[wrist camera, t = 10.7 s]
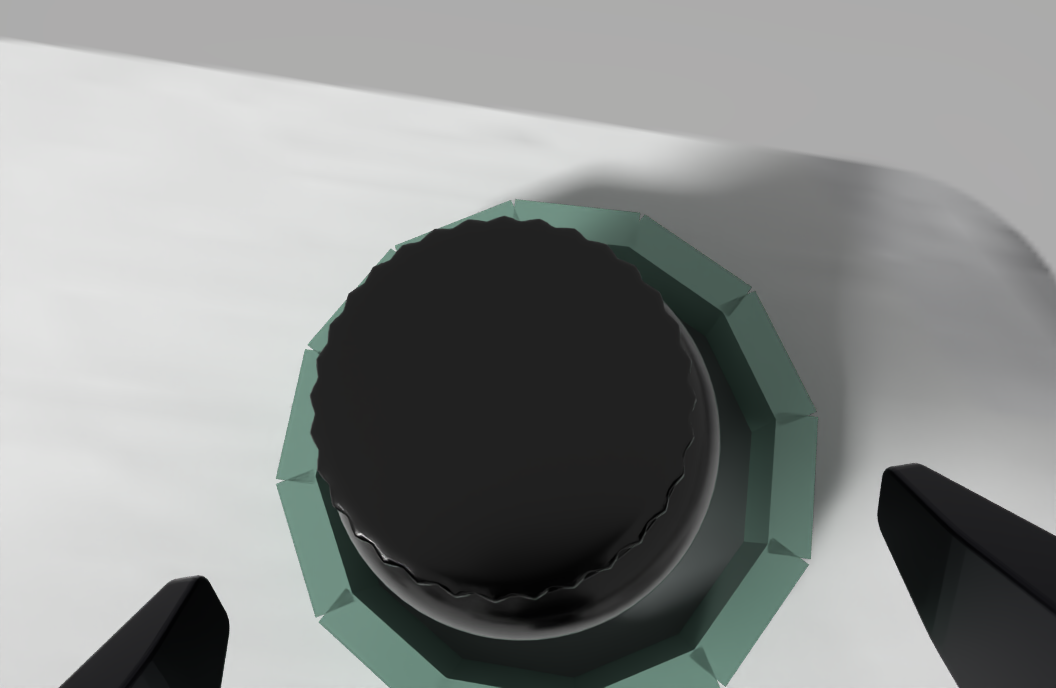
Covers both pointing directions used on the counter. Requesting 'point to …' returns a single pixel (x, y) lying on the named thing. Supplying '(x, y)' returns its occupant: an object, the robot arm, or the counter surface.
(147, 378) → the counter surface
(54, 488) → the counter surface
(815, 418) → the cup
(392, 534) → the supplement bottle
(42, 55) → the counter surface
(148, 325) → the counter surface
